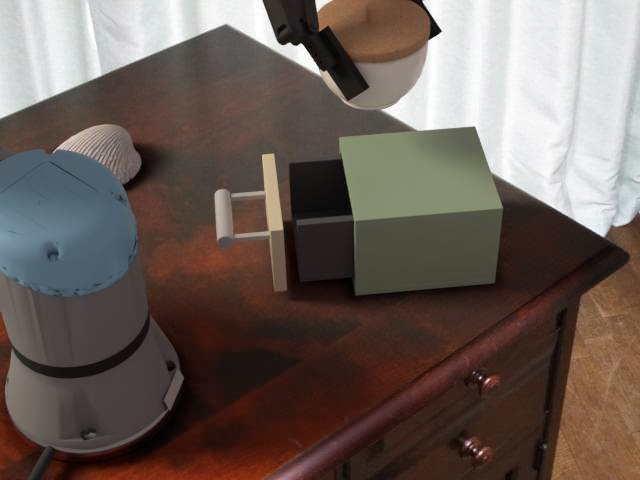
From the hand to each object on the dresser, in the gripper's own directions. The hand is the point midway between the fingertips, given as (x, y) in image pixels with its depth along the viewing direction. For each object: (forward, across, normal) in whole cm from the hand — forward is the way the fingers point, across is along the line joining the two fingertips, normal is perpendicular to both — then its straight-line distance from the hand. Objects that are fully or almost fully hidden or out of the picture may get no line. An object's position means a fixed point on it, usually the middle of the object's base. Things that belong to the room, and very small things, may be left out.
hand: (396, 65), depth 105 cm
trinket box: (+1, 0, +5) cm, 5 cm away
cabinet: (+16, -2, +10) cm, 19 cm away
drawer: (+10, -9, +15) cm, 21 cm away
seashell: (-8, -12, +36) cm, 39 cm away
